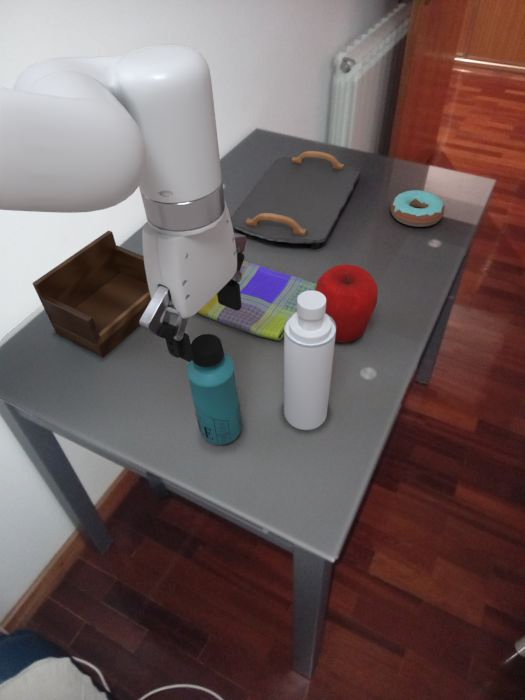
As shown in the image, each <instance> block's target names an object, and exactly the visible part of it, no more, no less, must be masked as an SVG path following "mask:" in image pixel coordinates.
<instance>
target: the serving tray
mask: <svg viewBox="0 0 525 700" xmlns="http://www.w3.org/2000/svg"><path fill="white" fill-rule="evenodd" d="M361 174H362V173H361V170H360V169H358V168H356V167H354V166H350V165H348V164H347V163H342V162H339V160H338V159H337V158H336V157H335V156H334V155H333V154H331V153H327V152H324V151H318V150H306V151H303V152H302V153H300V154H299V155H298V156H291V157H287V156H283V157H278V158H277V159H276V160H274V162H273V163H272V164H271V165H270V167H268V169H267V170H266V172H264V174H263V176H262V177H261V178H260V179H259V181H258V182H257V184H256V185H255V186H253V188H252V189H251V191H250V193H249V194H248V195H247V196H246V197H245V199H244V200H243V201H242V202H241V204H240V205H239V207H238V208H237V209H236V210H234V213H233V214H232V216H230V218H231V222H232V227H233V231H234V233H239V234H243V233H244V234H247V235H250V236H253V237H255V238H259V239H262V240H266V241H271V242H278V243H286V244H287V243H288V244H306V245H309V244H310V247H311V249H313V250H318V249H319V247H320V246H321V243H324V242H325V241H327V239H328V238H329V236H330V233H331V232H332V230H333V228H334V226H335V224H336V222H337V221H339V217H340V214H341V211H342V210H343V209H344V208H345V206H346V205H347V201H348V199H349V197H350V195H352V193H353V192H354V187H355V186H356V183H357V182H358V180H359V178H360V177H361Z"/></svg>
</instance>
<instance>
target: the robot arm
mask: <svg viewBox="0 0 525 700" xmlns="http://www.w3.org/2000/svg"><path fill="white" fill-rule="evenodd" d="M216 119H217V118H216V111H215V102H214V92H213V83H212V76H211V69H210V67H209V64H208V62H207V60H206V58H205V57H204V56H203V54H201V53H200V52H199V51H198V50H196V49H195V48H193V47H190V46H185V45H181V44H175V43H174V44H170V43H165V44H154V45H148V46H143V47H139V48H136V49H133V50H131V51H129V52H127V53H124V54H120V55H109V56H108V55H105V56H104V55H103V56H61V57H50V58H46V59H42V60H39V61H36V62H34V63H32V64H31V65H29V66H27V67H26V68H25V69H23V70H22V72H21V73H20V74H19V75H18V76H17V78H16V80H15V83H14V85H13V87H12V88H8V87H3V86H0V210H3V211H13V212H36V213H37V212H38V213H59V214H61V213H62V214H63V213H69V214H70V213H73V214H74V213H91V212H96V211H101V210H106V209H109V208H112V207H115V206H117V205H120V204H121V203H123V202H124V201H126V200H127V199H128V198H130V197H131V196H132V195H133V194H134V193H135V192H136V190H137V189H138V188H139V193H140V196H141V200H142V204H143V208H144V213H145V216H146V222H145V224H144V225H143V226H142V235H141V238H142V243H141V244H142V256H143V257H144V265H145V271H146V277H147V282H148V287H149V292H150V296H151V301H150V303H149V304H148V306H147V308H146V310H145V312H144V313H143V315H142V317H141V319H140V321H139V324H140V326H139V327H142V328H143V329H145V330H146V331H147V332H149V333H151V334H153V335H154V336H157V337H159V338H161V339H164V341H165V344H166V348H167V351H168V353H169V355H170V356H172V357H174V358H176V359H182V360H183V361H186V362H187V363H188V362H191V361H192V359H193V352H192V347H191V343H192V342H191V339H190V336H189V334H188V333H186V330H187V325H188V323H189V319H190V318H191V317H192V316H194V315H196V314H197V312H198V311H199V310H200V309H201V308H202V307H203V306H204V305H206V304H207V303H208V302H209V301H210V300H211V299H212V298H213V297H214V296H215V295H216V294H217V297H218V302H219V304H221V305H224V306H226V307H229V308H231V309H233V310H236V311H237V310H238V311H239V310H240V309H241V308H242V304H241V294H240V284H238V282H240V280H241V278H242V273H241V272H240V269H241V266H242V264H243V261H245V254H244V253H245V248H246V243H247V236H246V235H243V233H241V234H239V233H236V232H235V230H234V227H232V222H231V213H230V211H229V208H228V204H227V202H226V199H225V194H224V184H223V176H222V175H223V174H222V169H221V168H222V167H221V158H220V148H219V139H218V138H219V137H218V130H217V128H218V127H217V121H216ZM173 315H175V316H178V317H177V320H176V323H175V324H171V323H170V321H171V319H172V316H173Z"/></svg>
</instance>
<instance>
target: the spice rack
mask: <svg viewBox="0 0 525 700" xmlns="http://www.w3.org/2000/svg"><path fill="white" fill-rule="evenodd" d="M32 286H33V288H34V290H35V292H36V294H37V296H38V299H39V301H40V303H41V305H42V307H43V309H44V311H45V314H46V315H47V317H48V320H49V322H50V323H51V326H52V327H53V330H54V332H55V334H56V335H58V336H60V337H61V338H63V339H66V340H68V341H69V342H71V343H73V344H74V345H77V346H78V347H81V348H83V349H85V350H87V351H88V352H90V353H92V354H94V355H96V356H98V357H99V358H102V359H104V358H105V357H107V355H108V354H110V353H111V352H112V351H113V350H114V349H115V348H116V347H118V346H119V345H120V344H121V343H122V342H123V341H124V340H125V339H126V338H128V337H129V336H130V335H131V334H133V332H134V331H135V330H137V329H138V328H139V327H141V326H140V324H139V321H140V319H141V317H142V315H143V313H144V312H145V310H146V308H147V306H148V304H149V303H150V301H151V296H150V292H149V287H148V282H147V277H146V271H145V265H144V257H143V254H139V253H137V252H134V251H131V250H130V249H127V248H125V247H121V246H119V245H117V243H116V239H115V237H114V232H113V231H111V230H107V231H105V232H104V233H103V234H101V235H100V236H98V237H97V238H96V239H94V240H93V241H91V242H90V243H88V244H86V245H85V246H84V247H82V248H81V249H80V250H78V251H77V252H74V254H72V255H71V256H69V257H68V258H66V259H65V260H63V261H62V262H61V263H59V264H58V265H56V266H55V267H54V268H52V269H50V270H49V271H48V272H46V273H44V274H43V275H42V276H40V277H39V278H38V279H36V280H35V281H32Z"/></svg>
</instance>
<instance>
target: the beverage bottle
mask: <svg viewBox="0 0 525 700" xmlns="http://www.w3.org/2000/svg"><path fill="white" fill-rule="evenodd" d="M221 340H222V339H220V338H219V337H218V336H217V335H215V334H212V333H203V334H199V335H198V336H196V337H195V338H193V340H191V342H190V343H191V347H192V352H193V359H192V361H191V362H188V361H187V365H186V370H185V371H186V377H187V379H188V383H189V389H190V392H191V393H190V396H191V398H192V402H193V405H194V406H193V407H194V411H195V412H194V414H195V418H196V422H197V426H198V430H199V433H200V436H201V437H202V438H203V439H204V440H205V441H206V442H208V443H209V444H212V445H215V446H223V445H227V444H230V443H232V442H233V441H235V440H236V439H237V438H238V437H239V435H240V432H241V430H242V428H243V422H242V421H243V418H242V413H241V406H240V401H239V395H238V394H239V393H238V388H237V381H236V374H235V373H236V372H235V362H234V359H233V358H232V357H231V356H230V355H229V354H228V353H227V352H225V349H224V347H223V344H222V341H221Z"/></svg>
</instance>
